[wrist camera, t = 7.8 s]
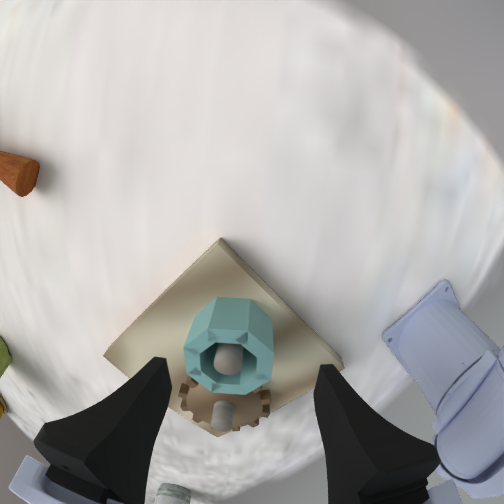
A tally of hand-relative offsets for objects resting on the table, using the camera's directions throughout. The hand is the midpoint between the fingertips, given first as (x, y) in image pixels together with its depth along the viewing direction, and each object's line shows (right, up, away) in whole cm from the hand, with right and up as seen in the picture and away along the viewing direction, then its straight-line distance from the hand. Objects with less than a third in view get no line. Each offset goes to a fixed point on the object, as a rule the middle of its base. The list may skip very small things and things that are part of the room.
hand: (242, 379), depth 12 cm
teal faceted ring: (-1, 0, +8) cm, 8 cm away
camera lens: (-14, -38, +23) cm, 46 cm away
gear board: (-3, -3, +11) cm, 12 cm away
